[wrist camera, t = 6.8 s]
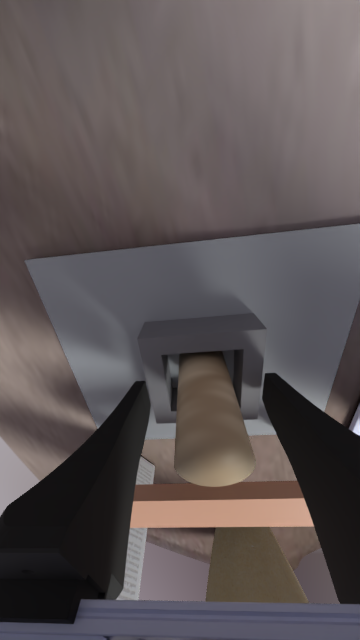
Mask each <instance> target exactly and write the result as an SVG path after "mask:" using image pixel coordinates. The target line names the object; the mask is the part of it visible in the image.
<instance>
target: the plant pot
mask: <svg viewBox="0 0 360 640" xmlns="http://www.w3.org/2000/svg"><path fill="white" fill-rule="evenodd" d="M206 602H261V603H309V602H308V600H307V598H306V596H305V594H304V592H303V590H302V588H301V586H300V584H299V582H298V580H297V578H296V576H295V574H294V572H293V570H292V568H291V566H290V564H289V562H288V560H287V558H286V557H285V555H284V553H283V551H282V549H281V547H280V545H279V544H278V542H277V540H276V538H275V536H274V534H273V533H272V531H271V529H270V527H216V529H215V535H214V541H213V547H212V554H211V561H210V568H209V576H208V584H207V592H206Z"/></svg>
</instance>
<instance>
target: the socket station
mask: <svg viewBox="0 0 360 640" xmlns="http://www.w3.org/2000/svg"><path fill="white" fill-rule="evenodd" d="M24 261H25V263H26V265H27V268H28V270H29V272H30V275H31V277H32V279H33V282H34V284H35V286H36V288H37V291H38V293H39V295H40V298H41V300H42V302H43V304H44V307H45V309H46V311H47V314H48V316H49V318H50V321H51V323H52V325H53V327H54V330H55V332H56V334H57V337H58V339H59V341H60V344H61V346H62V348H63V350H64V353H65V355H66V357H67V360H68V362H69V364H70V367H71V369H72V371H73V373H74V376H75V378H76V380H77V383H78V385H79V387H80V389H81V392H82V394H83V396H84V399H85V401H86V403H87V406H88V408H89V410H90V412H91V415H92V417H93V419H94V422H95V424H96V426H97V429H98V428H99V427H100V426H101V425H102V424H103V422H104V421H105V420H106V419H107V418H108V416H109V415H110V414H111V413H112V412H113V410H114V409H115V408H116V407H117V405H118V404H119V403H120V401H121V400H122V399H123V397H124V396H125V395H126V393H127V392H128V391H129V389H130V388H131V386H132V385H133V384H134V382H135V381H145V382H146V386H147V390H148V394H149V399H150V403H151V407H150V416H149V423H148V427H147V432H146V436H145V440H147V439H172V438H175V436H176V415H177V395H178V374H179V355H180V354H181V353H195V352H210V351H222V352H223V355H224V358H225V362H226V365H227V368H228V372H229V375H230V378H231V381H232V385H233V388H234V391H235V394H236V398H237V401H238V404H239V407H240V411H241V414H242V417H243V420H244V424H245V427H246V430H247V433H248V435H272V434H276V432H275V430H274V428H273V425H272V423H271V421H270V419H269V417H268V415H267V412H266V409H265V406H264V403H263V400H262V393H263V385H264V376H265V373H276V374H278V375H279V376H280V377H281V378H282V379H284V380H285V381H286V382H287V383H288V384H289V385H291V386H292V387H293V388H294V389H295V390H296V391H298V392H299V393H300V394H301V395H303V396H304V397H305V398H306V399H308V400H309V401H310V402H311V403H313V404H314V405H315V406H317V407H318V408H319V409H321V410H322V411H323V412H324V410H325V407H326V404H327V401H328V398H329V395H330V391H331V388H332V385H333V382H334V379H335V376H336V373H337V369H338V366H339V363H340V360H341V357H342V354H343V351H344V347H345V344H346V341H347V338H348V335H349V332H350V329H351V325H352V322H353V319H354V316H355V313H356V310H357V307H358V303H359V300H360V223H357V224H348V225H339V226H330V227H321V228H311V229H302V230H293V231H284V232H275V233H266V234H256V235H247V236H238V237H229V238H220V239H211V240H201V241H192V242H183V243H174V244H165V245H156V246H146V247H137V248H128V249H119V250H110V251H101V252H91V253H82V254H73V255H64V256H55V257H46V258H36V259H29V260H24ZM289 526H314V524H313V521H312V519H311V516H310V513H309V510H308V507H307V505H306V502H305V499H304V497H303V494H302V491H301V488H300V486H299V483H298V481H267V482H238V483H235V484H232V485H227V486H220V487H208V486H201V485H196V484H193V483H183V484H141V485H135V492H134V499H133V507H132V514H131V522H130V528H170V527H289Z"/></svg>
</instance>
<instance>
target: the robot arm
mask: <svg viewBox="0 0 360 640" xmlns="http://www.w3.org/2000/svg"><path fill="white" fill-rule="evenodd" d="M262 400H263V403H264V406H265V409H266V412H267V415H268V417H269V419H270V421H271V423H272V425H273V428H274V430H275V432H276V434H277V436H278V438H279V440H280V442H281V444H282V446H283V448H284V450H285V452H286V454H287V456H288V459H289V461H290V463H291V465H292V468H293V470H294V473H295V475H296V478H297V481H298V483H299V486H300V488H301V491H302V494H303V497H304V499H305V502H306V505H307V507H308V510H309V513H310V516H311V519H312V521H313V524H314V527H315V530H316V533H317V536H318V539H319V542H320V545H321V548H322V551H323V554H324V557H325V559H326V563H327V566H328V569H329V572H330V575H331V578H332V581H333V584H334V588H335V591H336V594H337V597H338V600H339V602H340V604H318V603H316V604H315V603H261V602H203V601H201V602H200V601H145V600H144V601H143V600H116V599H117V598H118V596H119V595H120V593H121V592H122V590H123V588H124V577H125V567H126V558H127V548H128V539H129V531H130V522H131V514H132V507H133V499H134V492H135V485H136V478H137V472H138V467H139V462H140V457H141V453H142V449H143V445H144V440H145V436H146V432H147V427H148V423H149V416H150V407H151V403H150V399H149V394H148V390H147V386H146V382H145V381H135V382H134V384H133V385H132V386H131V388H130V389H129V391H128V392H127V393H126V395H125V396H124V397H123V399H122V400H121V401H120V403H119V404H118V405H117V407H116V408H115V409H114V410H113V412H112V413H111V414H110V415H109V416H108V418H107V419H106V420H105V421H104V422H103V424H102V425H101V426H100V427H99V428H98V429H97V430H96V431H95V432H94V433H93V435H92V436H91V437H90V438H89V439H88V440H87V441H86V442H85V443H84V444H83V445H82V446H81V447H79V448H78V449H77V450H76V451H75V452H74V453H73V454H72V455H71V456H70V457H69V458H68V459H67V460H65V461H64V462H63V463H62V464H61V465H60V466H58V467H57V468H56V469H55V470H54V471H53V472H51V473H50V474H49V475H48V476H46V477H45V478H44V479H43V480H41V481H40V482H39V483H38V484H36V485H35V486H34V487H32V488H31V489H30V490H28V491H27V492H26V493H24V494H23V495H22V496H20V497H19V498H18V499H16V500H15V501H14V502H12V503H11V504H9V505H8V506H7V508H6V509H5V511H4V512H3V514H2V515H1V517H0V640H360V403H359V406H358V408H357V410H356V413H355V415H354V418H353V420H352V422H351V425H350V427H349V429H348V428H346V427H345V426H343V425H342V424H340V423H339V422H337V421H336V420H334V419H333V418H332V417H330V416H329V415H327V414H326V413H325V412H323V411H322V410H321V409H319V408H318V407H317V406H315V405H314V404H313V403H311V402H310V401H309V400H308V399H306V398H305V397H304V396H303V395H301V394H300V393H299V392H298V391H296V390H295V389H294V388H293V387H292V386H291V385H289V384H288V383H287V382H286V381H285V380H284V379H282V378H281V377H280V376H279V375H278V374H276V373H265V376H264V385H263V393H262Z"/></svg>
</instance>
